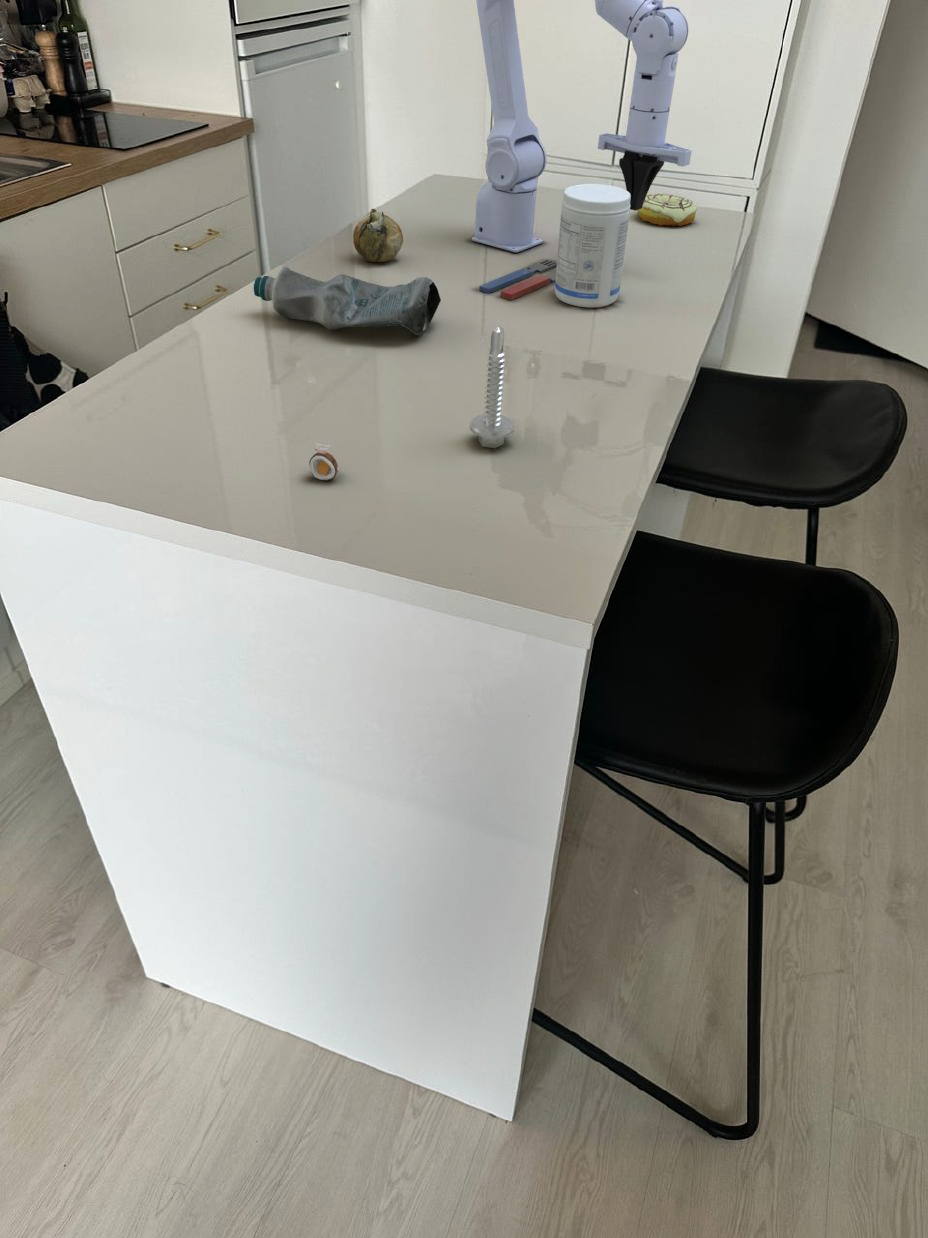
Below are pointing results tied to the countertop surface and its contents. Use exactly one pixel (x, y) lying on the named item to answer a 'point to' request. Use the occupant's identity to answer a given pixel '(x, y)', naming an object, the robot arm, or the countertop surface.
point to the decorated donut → (667, 210)
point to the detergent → (350, 301)
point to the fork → (517, 276)
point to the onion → (377, 237)
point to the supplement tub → (591, 244)
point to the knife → (527, 286)
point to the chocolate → (323, 464)
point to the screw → (493, 398)
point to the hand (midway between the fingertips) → (634, 208)
